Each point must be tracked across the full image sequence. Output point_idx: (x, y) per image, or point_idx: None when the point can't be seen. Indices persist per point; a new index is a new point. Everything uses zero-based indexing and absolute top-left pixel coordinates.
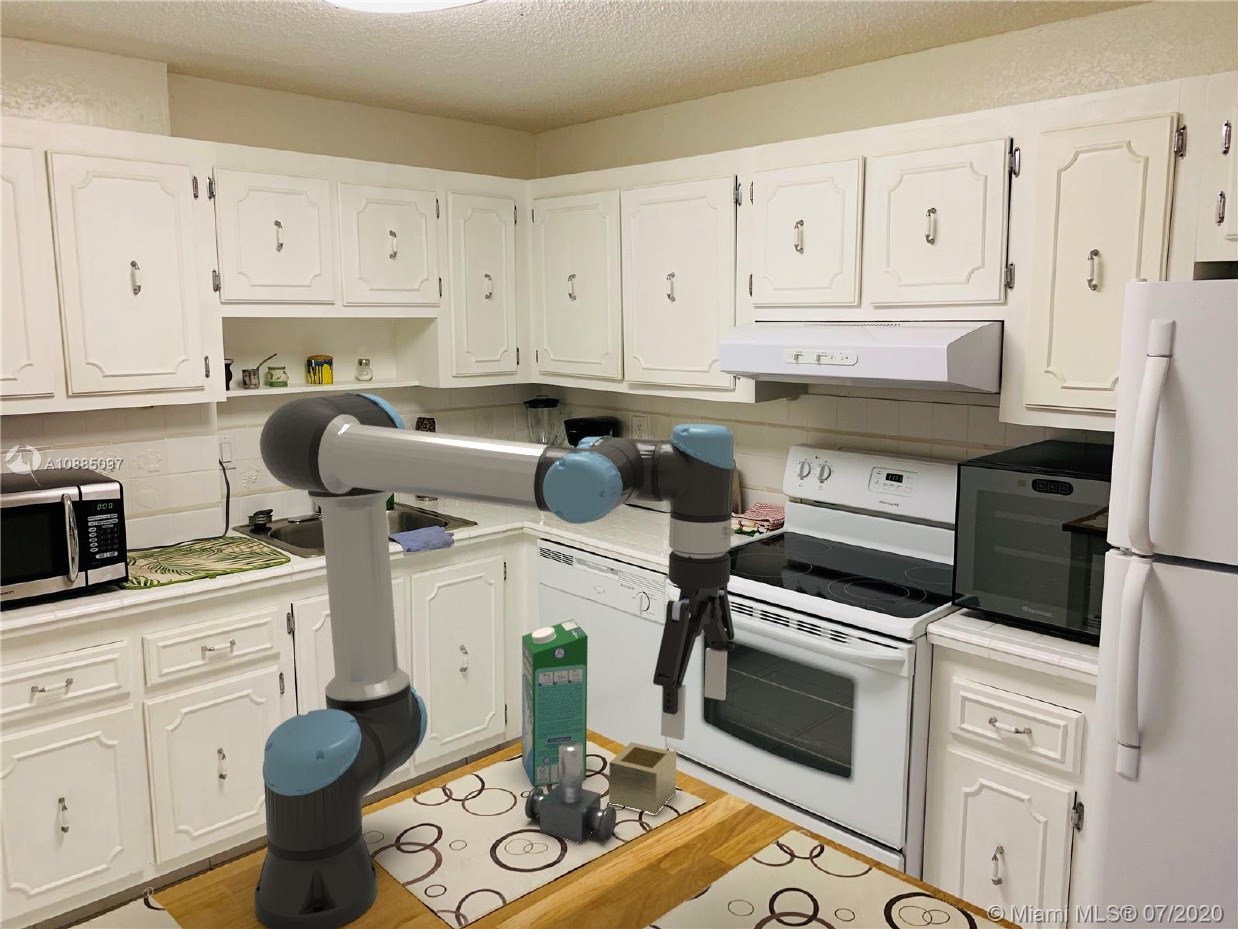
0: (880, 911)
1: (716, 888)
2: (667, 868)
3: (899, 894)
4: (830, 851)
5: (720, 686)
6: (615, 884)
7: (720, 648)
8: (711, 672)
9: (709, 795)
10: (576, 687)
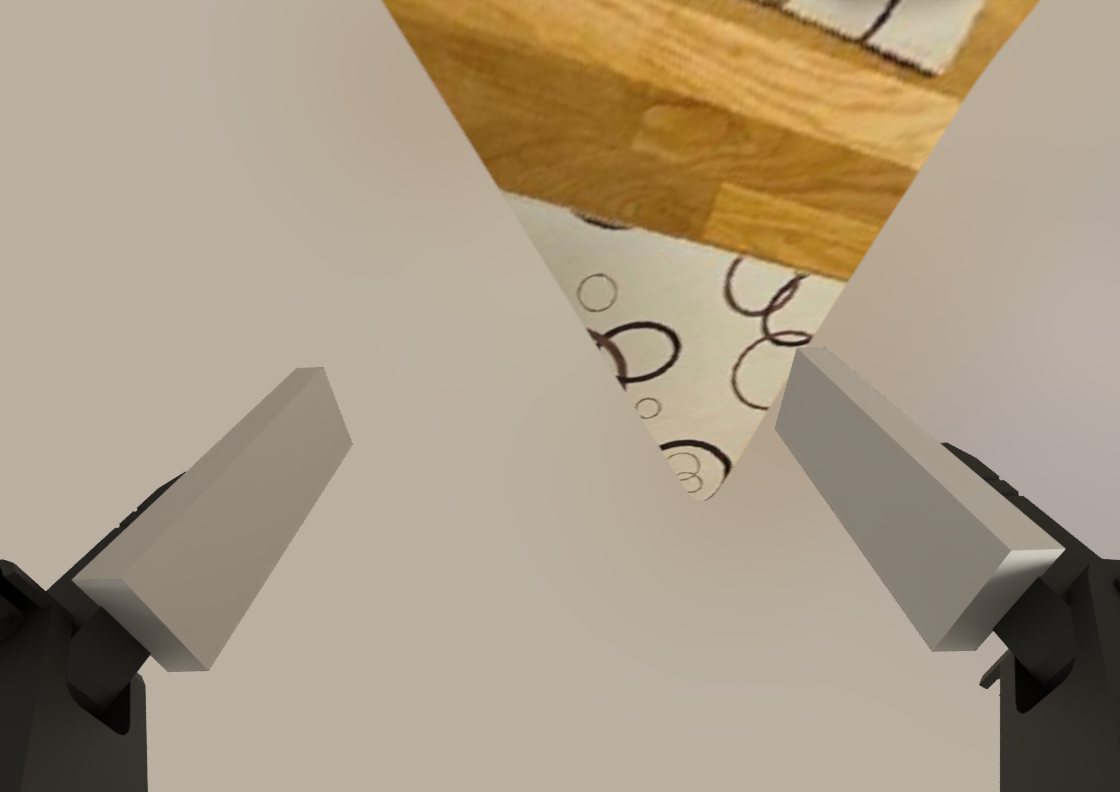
0: (671, 438)
1: (626, 241)
2: (644, 129)
3: (716, 447)
4: None
5: (809, 456)
6: (546, 53)
7: (1012, 635)
8: (866, 458)
9: (971, 68)
10: None
